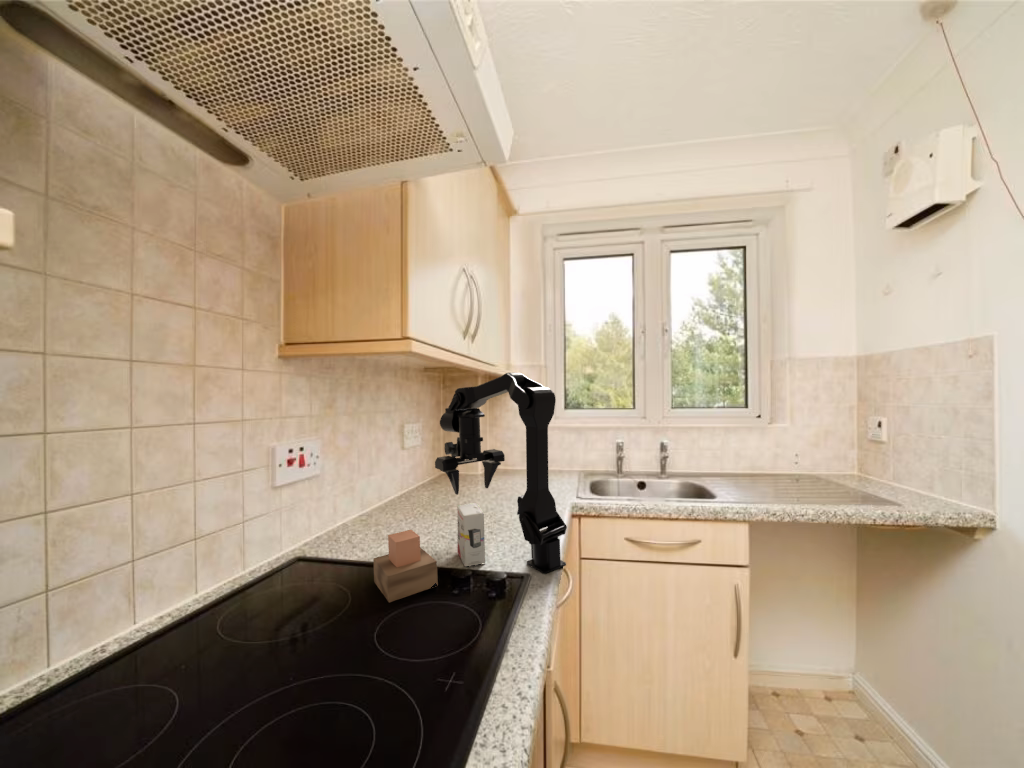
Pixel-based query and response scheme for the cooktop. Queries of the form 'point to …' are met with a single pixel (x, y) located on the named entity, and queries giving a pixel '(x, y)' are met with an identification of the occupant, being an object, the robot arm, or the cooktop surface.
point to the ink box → (471, 534)
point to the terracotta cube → (404, 548)
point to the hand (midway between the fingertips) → (472, 491)
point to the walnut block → (404, 576)
